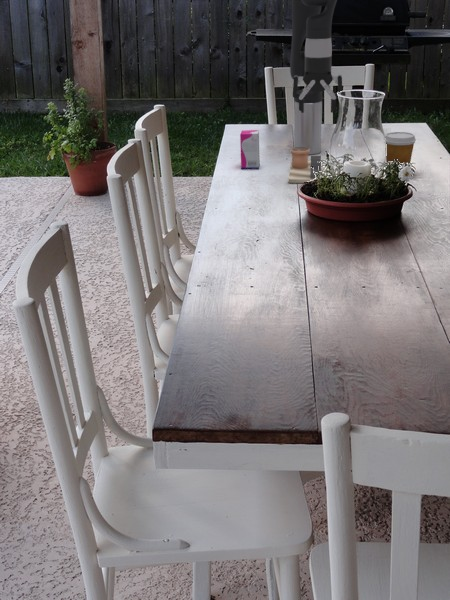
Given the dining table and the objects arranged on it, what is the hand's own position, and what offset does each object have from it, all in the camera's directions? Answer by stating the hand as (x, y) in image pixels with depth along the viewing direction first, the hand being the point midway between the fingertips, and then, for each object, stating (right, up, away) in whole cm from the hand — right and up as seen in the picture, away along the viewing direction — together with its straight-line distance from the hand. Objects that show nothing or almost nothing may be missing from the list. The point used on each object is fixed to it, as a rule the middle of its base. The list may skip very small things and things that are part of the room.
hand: (317, 112), depth 232 cm
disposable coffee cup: (+26, -16, +13) cm, 33 cm away
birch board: (-2, -15, +17) cm, 22 cm away
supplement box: (-19, -12, +25) cm, 33 cm away
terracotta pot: (-3, -13, +19) cm, 23 cm away
